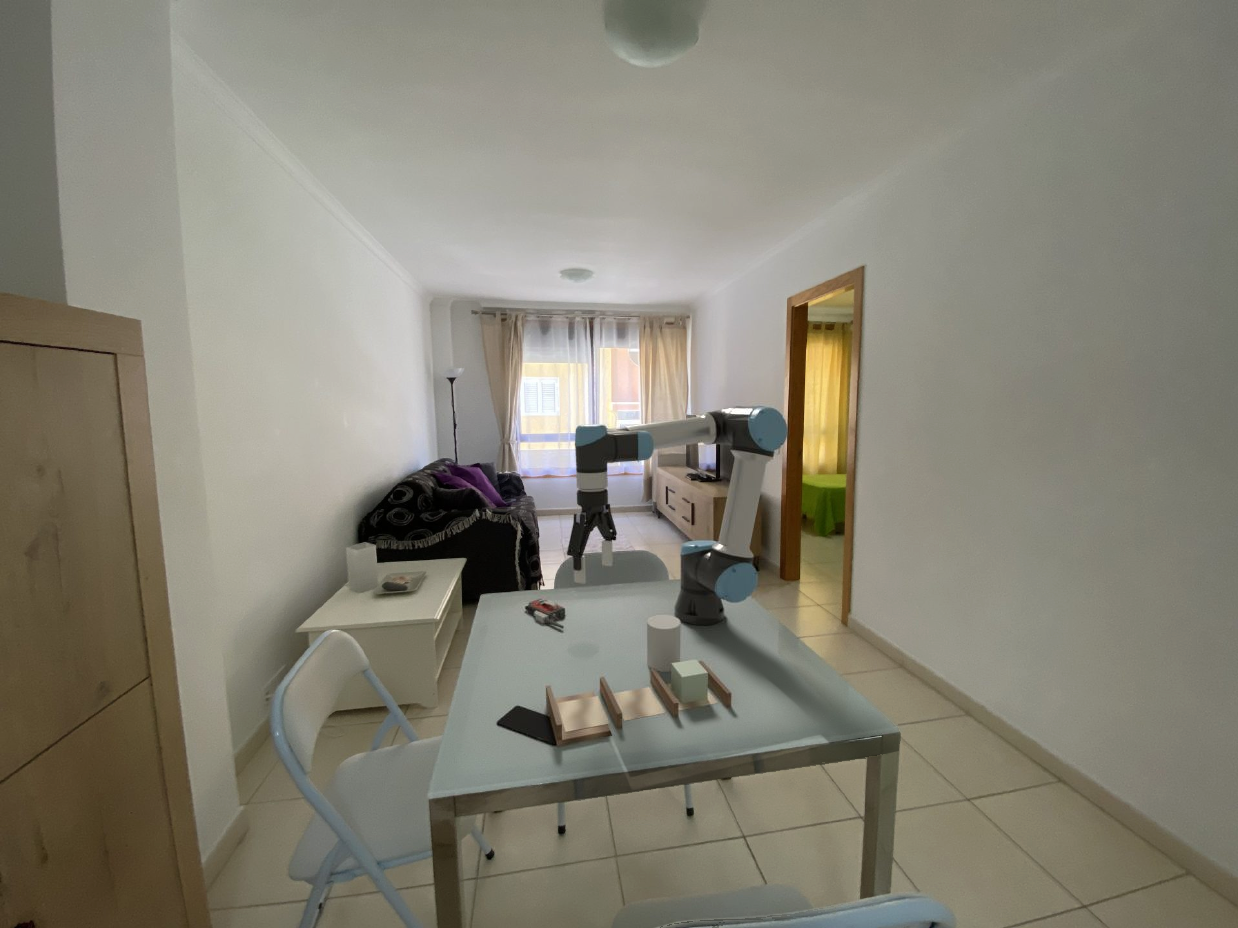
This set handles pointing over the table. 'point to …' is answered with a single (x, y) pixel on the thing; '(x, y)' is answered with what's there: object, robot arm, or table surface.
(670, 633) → the white cylinder
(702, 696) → the sage block
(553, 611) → the walkie-talkie
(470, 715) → the table surface
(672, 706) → the frame
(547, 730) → the smartphone
